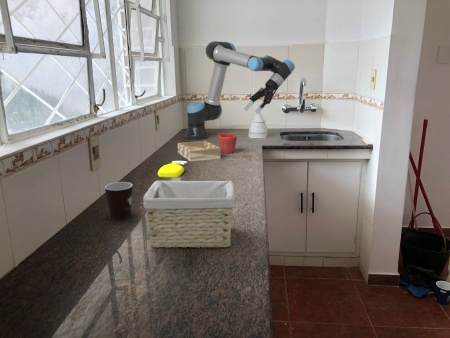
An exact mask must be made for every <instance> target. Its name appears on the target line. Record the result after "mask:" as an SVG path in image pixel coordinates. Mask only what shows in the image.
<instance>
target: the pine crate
mask: <svg viewBox="0 0 450 338" xmlns="http://www.w3.org/2000/svg"><path fill="white" fill-rule="evenodd" d="M177 153H178V154H179V155H180V156H182V157H183V158H184V159H186V160H188V161H189V162H198V161H209V160H218V159H221V156H222V155H221V154H222V153H221V148H220V146H217V145H215V144H213V143H212V142H209V141H207V140H200V141H199V140H198V141H188V142H177Z"/></svg>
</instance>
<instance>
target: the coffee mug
mask: <svg viewBox="0 0 450 338" xmlns="http://www.w3.org/2000/svg"><path fill="white" fill-rule="evenodd" d="M133 185H134V184H132V182H126V181H118V182H112V183H111V182H110V183H107V184H106V185H105V186H104V190H105V196H106V200H107V205H108V209H109V215H110V217H111V219H116V220H121V219H127V218H129V217H130V216H131V215H132V206H133V205H132V202H133Z"/></svg>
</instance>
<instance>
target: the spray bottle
mask: <svg viewBox="0 0 450 338" xmlns="http://www.w3.org/2000/svg"><path fill="white" fill-rule="evenodd" d="M187 163H188V161H187V160H186V161H184V160H173V161H171V163H168V164H165V165H163V166H162V167H160V168H159V170H158V172H157V176H158V177H159V178H179V177H180V176H181V175H182V174H183V173H184V171H185V168H184V167H183V166H182V165H185V164H187Z"/></svg>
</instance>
